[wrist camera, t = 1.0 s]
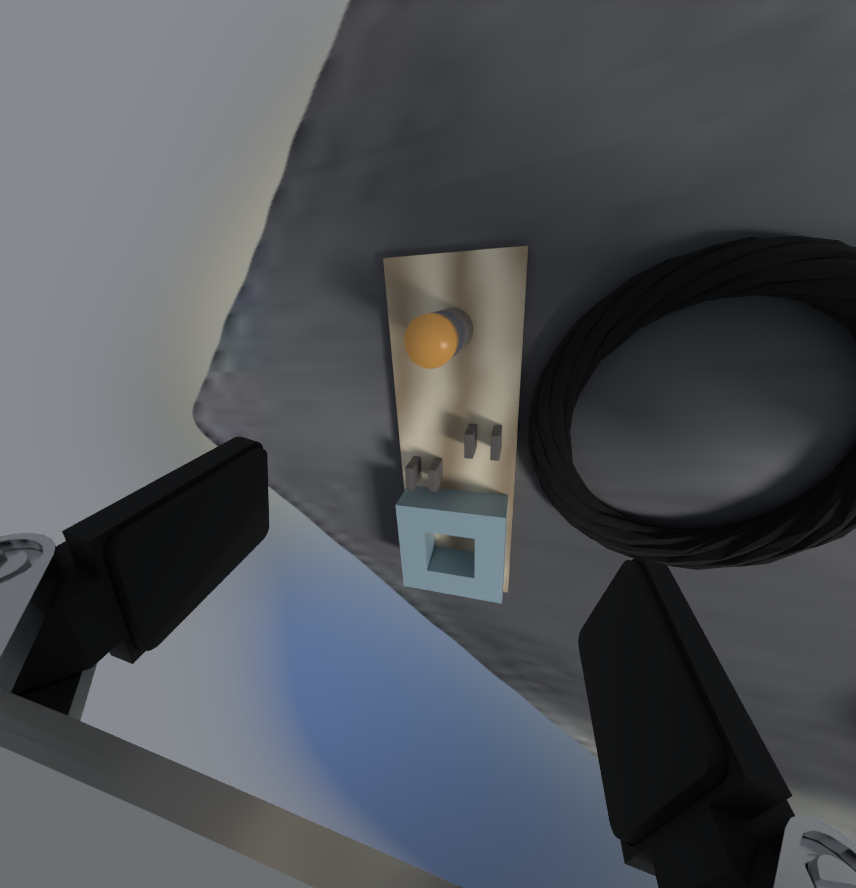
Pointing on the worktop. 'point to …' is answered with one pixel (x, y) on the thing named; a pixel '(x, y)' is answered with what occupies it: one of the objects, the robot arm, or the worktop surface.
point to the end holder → (454, 517)
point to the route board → (461, 375)
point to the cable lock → (646, 300)
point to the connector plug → (437, 337)
